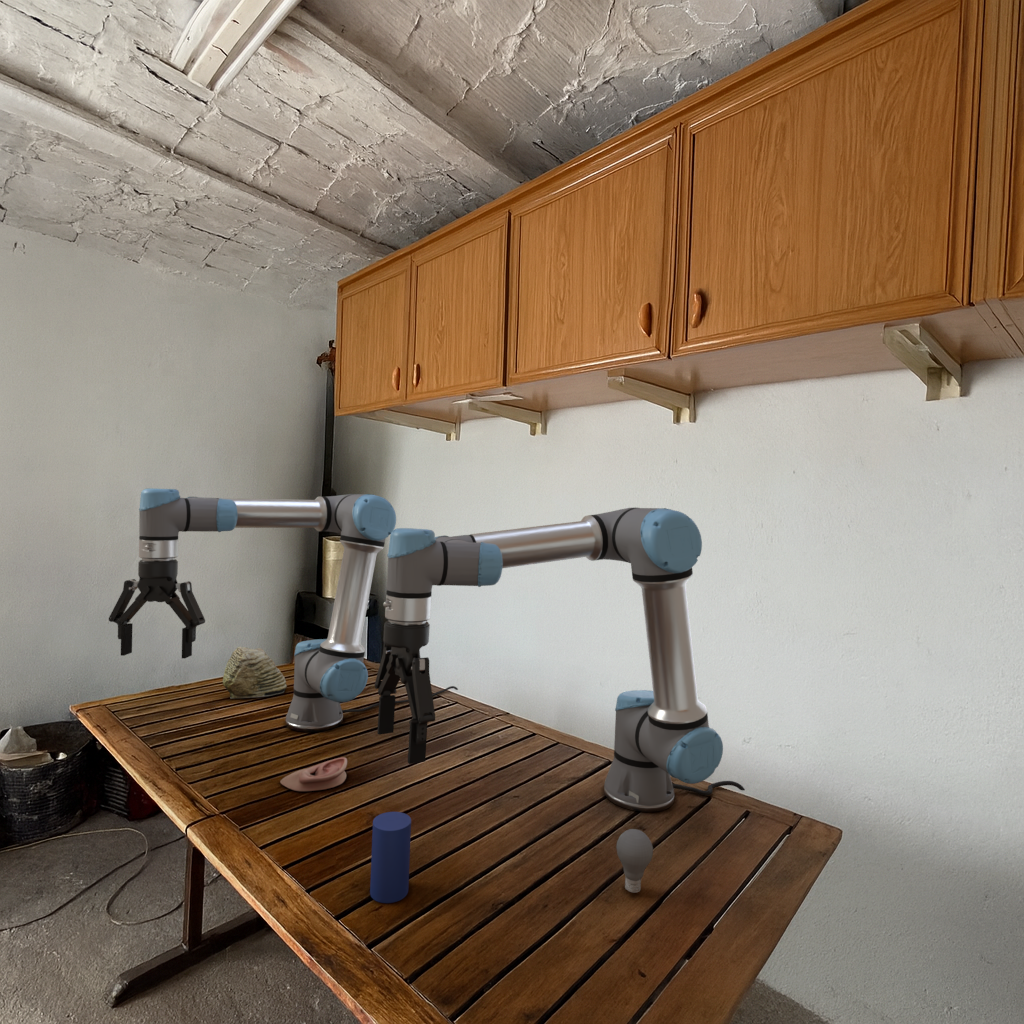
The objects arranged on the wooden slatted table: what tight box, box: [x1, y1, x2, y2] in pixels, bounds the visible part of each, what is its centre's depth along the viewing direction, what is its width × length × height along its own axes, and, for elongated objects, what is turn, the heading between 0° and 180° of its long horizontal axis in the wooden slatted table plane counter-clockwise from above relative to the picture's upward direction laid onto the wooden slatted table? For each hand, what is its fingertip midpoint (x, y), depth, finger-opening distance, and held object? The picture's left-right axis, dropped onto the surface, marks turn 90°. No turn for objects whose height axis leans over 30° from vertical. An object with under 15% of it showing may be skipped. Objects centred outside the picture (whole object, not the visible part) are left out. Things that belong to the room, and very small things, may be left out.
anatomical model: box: [279, 756, 348, 792], centre depth 141 cm, size 13×4×12 cm
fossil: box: [222, 646, 288, 699], centre depth 198 cm, size 9×18×15 cm, turn 132°
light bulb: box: [615, 828, 654, 894], centre depth 106 cm, size 6×6×10 cm
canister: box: [369, 811, 412, 904], centre depth 103 cm, size 6×6×12 cm
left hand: (156, 655), depth 139 cm, fingers open, 13 cm apart
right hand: (400, 746), depth 106 cm, fingers open, 13 cm apart
